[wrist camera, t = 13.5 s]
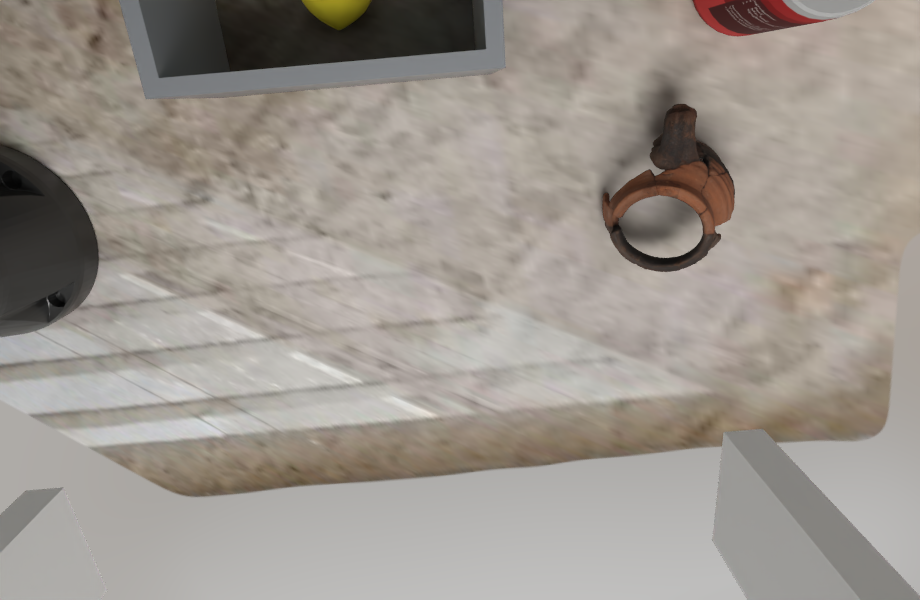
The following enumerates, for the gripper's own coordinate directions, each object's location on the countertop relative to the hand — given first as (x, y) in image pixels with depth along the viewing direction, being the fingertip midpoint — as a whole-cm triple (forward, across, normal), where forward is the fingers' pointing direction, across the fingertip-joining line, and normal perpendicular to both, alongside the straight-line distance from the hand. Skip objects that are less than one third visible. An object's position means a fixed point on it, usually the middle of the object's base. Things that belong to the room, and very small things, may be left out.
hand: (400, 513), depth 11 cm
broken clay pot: (+35, +18, 0) cm, 39 cm away
